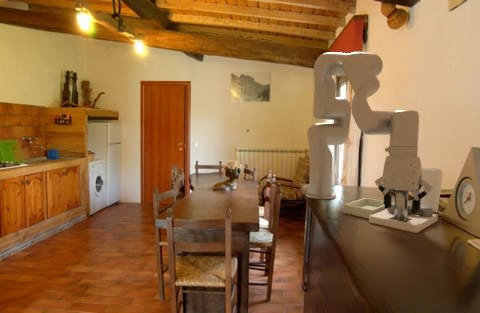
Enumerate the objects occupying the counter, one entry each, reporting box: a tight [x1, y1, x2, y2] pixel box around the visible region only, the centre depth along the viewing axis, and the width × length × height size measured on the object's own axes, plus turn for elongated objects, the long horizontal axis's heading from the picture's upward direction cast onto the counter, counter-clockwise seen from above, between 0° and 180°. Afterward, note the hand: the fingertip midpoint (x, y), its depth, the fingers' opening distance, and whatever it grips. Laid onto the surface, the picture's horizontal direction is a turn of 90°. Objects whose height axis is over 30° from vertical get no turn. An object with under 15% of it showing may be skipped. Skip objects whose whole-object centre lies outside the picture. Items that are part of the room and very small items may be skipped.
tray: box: [343, 197, 387, 219], centre depth 112 cm, size 10×15×3 cm
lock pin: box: [394, 190, 410, 222], centre depth 97 cm, size 5×5×13 cm
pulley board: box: [368, 201, 439, 234], centre depth 101 cm, size 14×17×5 cm
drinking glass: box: [419, 167, 443, 213], centre depth 112 cm, size 7×7×15 cm
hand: (401, 209), depth 97 cm, fingers open, 7 cm apart
